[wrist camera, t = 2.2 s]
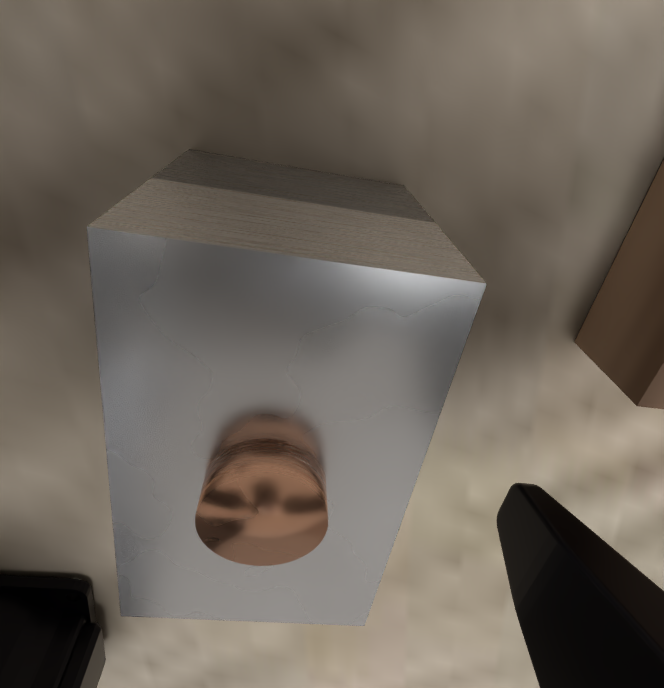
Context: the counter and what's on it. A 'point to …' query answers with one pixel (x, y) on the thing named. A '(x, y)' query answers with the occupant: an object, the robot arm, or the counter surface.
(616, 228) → the counter surface
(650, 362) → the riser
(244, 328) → the block
